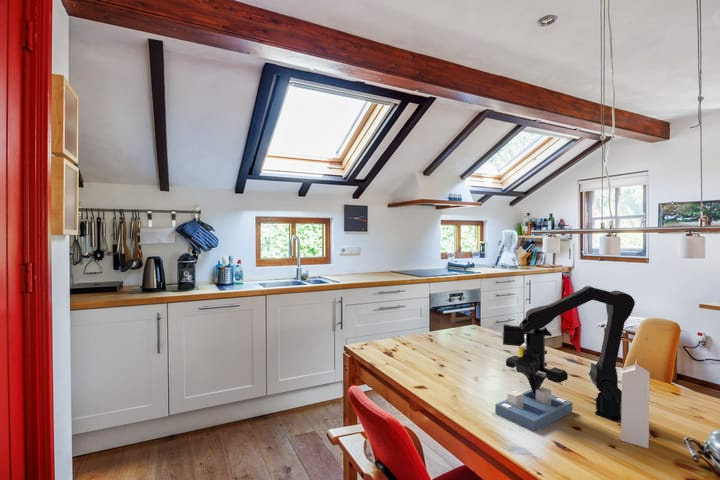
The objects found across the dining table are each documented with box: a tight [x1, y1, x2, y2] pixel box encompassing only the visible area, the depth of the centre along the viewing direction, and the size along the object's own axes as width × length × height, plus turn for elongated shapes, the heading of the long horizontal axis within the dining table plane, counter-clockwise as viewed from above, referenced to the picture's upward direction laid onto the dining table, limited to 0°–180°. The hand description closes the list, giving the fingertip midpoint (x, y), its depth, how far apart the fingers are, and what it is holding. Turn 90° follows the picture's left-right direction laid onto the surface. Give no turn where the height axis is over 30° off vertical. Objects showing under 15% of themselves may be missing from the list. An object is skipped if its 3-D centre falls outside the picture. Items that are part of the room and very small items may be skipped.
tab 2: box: [536, 386, 552, 406], centre depth 120 cm, size 3×4×5 cm
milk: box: [620, 358, 651, 449], centre depth 101 cm, size 6×6×22 cm
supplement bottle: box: [517, 335, 526, 357], centre depth 159 cm, size 7×7×13 cm
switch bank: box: [494, 388, 573, 432], centre depth 117 cm, size 13×22×3 cm, turn 124°
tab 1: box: [507, 389, 524, 410], centre depth 117 cm, size 3×4×5 cm
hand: (535, 393), depth 122 cm, fingers closed
